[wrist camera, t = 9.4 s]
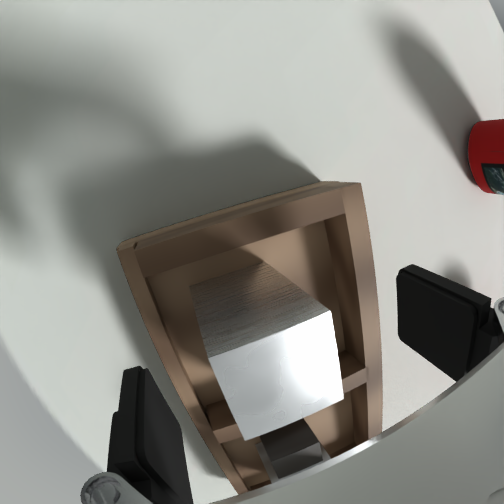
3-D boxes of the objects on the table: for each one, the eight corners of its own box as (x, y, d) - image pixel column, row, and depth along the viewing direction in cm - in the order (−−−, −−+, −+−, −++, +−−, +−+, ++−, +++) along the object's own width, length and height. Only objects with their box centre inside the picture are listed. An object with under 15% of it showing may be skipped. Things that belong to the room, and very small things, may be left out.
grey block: (188, 285, 15) (208, 358, 9) (263, 260, 16) (330, 311, 9) (225, 381, 17) (259, 470, 10) (288, 356, 18) (347, 431, 11)
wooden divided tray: (121, 241, 16) (78, 298, 7) (321, 181, 18) (433, 184, 10) (234, 480, 22) (264, 560, 13) (357, 429, 24) (412, 491, 16)
